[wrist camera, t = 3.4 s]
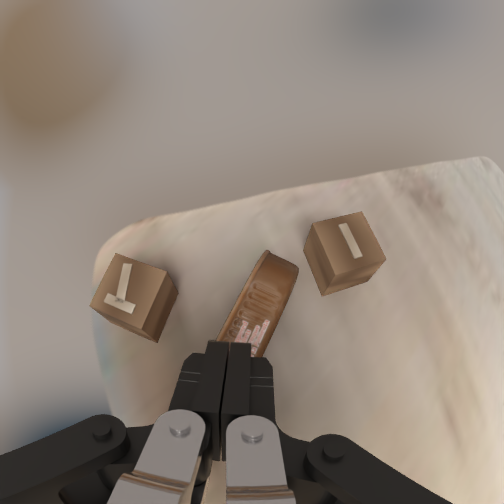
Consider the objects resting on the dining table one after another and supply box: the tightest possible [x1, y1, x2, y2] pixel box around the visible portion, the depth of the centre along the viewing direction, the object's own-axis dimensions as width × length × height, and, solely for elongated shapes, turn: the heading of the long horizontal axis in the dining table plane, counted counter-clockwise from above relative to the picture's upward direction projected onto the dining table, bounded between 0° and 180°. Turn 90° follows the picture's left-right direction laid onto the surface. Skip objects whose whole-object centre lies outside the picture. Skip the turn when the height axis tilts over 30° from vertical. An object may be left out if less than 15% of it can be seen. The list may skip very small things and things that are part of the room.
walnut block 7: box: [90, 253, 178, 343], centre depth 24 cm, size 4×4×5 cm
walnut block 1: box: [303, 212, 386, 296], centre depth 26 cm, size 4×4×5 cm
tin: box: [215, 250, 299, 357], centre depth 20 cm, size 15×3×8 cm, turn 155°
